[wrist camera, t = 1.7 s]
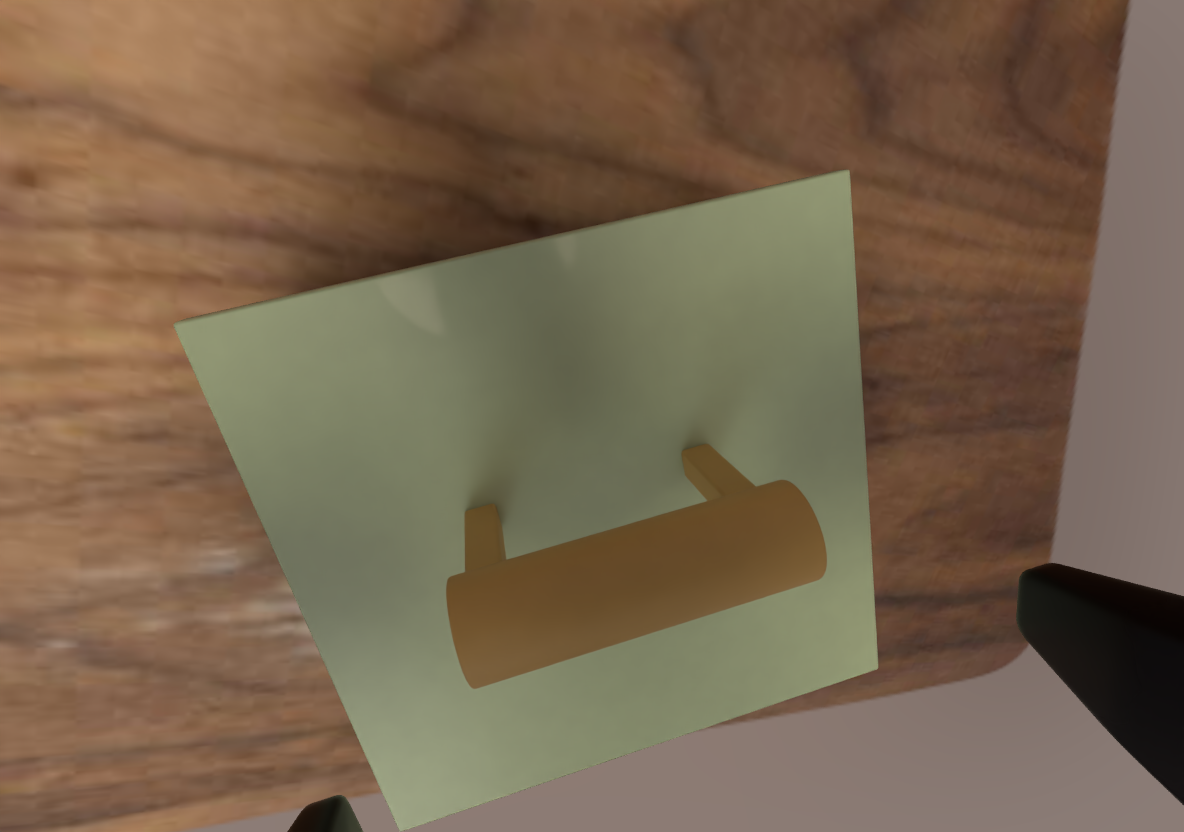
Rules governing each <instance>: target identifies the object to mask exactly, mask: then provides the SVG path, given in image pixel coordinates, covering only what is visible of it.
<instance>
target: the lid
mask: <svg viewBox="0 0 1184 832" xmlns="http://www.w3.org/2000/svg"><path fill="white" fill-rule="evenodd" d="M174 328H175V330H176V332H177V335H178V337H179V339H180V341H181V343H182V346H183V348H184V350H185V352H186V355H187V357H188V359H189V361H190V364H191V366H192V368H193V370H194V373H195V375H196V377H197V379H198V382H199V384H200V386H201V388H202V390H203V393H204V395H205V397H206V399H207V402H208V404H209V406H210V408H211V411H212V413H213V415H214V417H215V420H216V422H217V424H218V426H219V429H220V431H221V433H222V435H223V437H224V440H225V442H226V444H227V446H228V449H229V451H230V453H231V455H232V458H233V460H234V462H235V464H236V467H237V469H238V471H239V473H240V475H241V478H242V480H243V482H244V484H245V487H246V489H247V491H248V493H249V496H250V498H251V500H252V502H253V505H254V507H255V509H256V511H257V514H258V516H259V518H260V520H261V522H262V525H263V527H264V529H265V531H266V534H267V536H268V538H269V540H270V543H271V545H272V547H273V549H274V552H275V554H276V556H277V558H278V561H279V563H280V565H281V567H282V569H283V572H284V574H285V576H286V578H287V581H288V583H289V585H290V587H291V590H292V592H293V594H294V596H295V599H296V601H297V603H298V605H299V608H300V610H301V612H302V614H303V616H304V619H305V621H306V623H307V625H308V628H309V630H310V632H311V634H312V637H313V639H314V641H315V643H316V646H317V648H318V650H319V652H320V655H321V657H322V659H323V661H324V663H325V666H326V668H327V670H328V672H329V675H330V677H331V679H332V681H333V684H334V686H335V688H336V690H337V693H338V695H339V697H340V699H341V702H342V704H343V706H344V708H345V710H346V713H347V715H348V717H349V719H350V722H351V724H352V726H353V728H354V731H355V733H356V735H357V737H358V740H359V742H360V744H361V746H362V749H363V751H364V753H365V755H366V757H367V760H368V762H369V764H370V766H371V769H372V771H373V773H374V775H375V778H376V780H377V782H378V784H379V787H380V789H381V791H382V793H383V796H384V798H385V800H386V802H387V804H388V807H389V809H390V811H391V813H392V816H393V818H394V820H395V822H396V825H397V827H398V829H399V831H400V832H402V831H405V830H408V829H411V828H414V827H416V826H419V825H422V824H425V823H428V822H431V821H434V820H437V819H440V818H443V817H446V816H449V815H452V814H455V813H457V812H461V811H463V810H466V809H469V808H472V807H475V806H478V805H481V804H484V803H487V802H490V801H493V800H496V799H499V798H502V797H504V796H507V795H510V794H513V793H516V792H519V791H522V790H525V789H528V788H531V787H533V786H537V785H540V784H542V783H545V782H548V781H551V780H554V779H557V778H560V777H563V776H566V775H569V774H572V773H575V772H578V771H580V770H583V769H586V768H589V767H592V766H595V765H598V764H601V763H604V762H607V761H610V760H612V759H616V758H618V757H621V756H624V755H627V754H630V753H633V752H636V751H639V750H642V749H645V748H648V747H650V746H654V745H656V744H659V743H662V742H665V741H668V740H671V739H674V738H677V737H680V736H683V735H686V734H689V733H692V732H695V731H697V730H700V729H703V728H706V727H709V726H712V725H715V724H718V723H721V722H724V721H727V720H730V719H733V718H735V717H738V716H741V715H744V714H747V713H750V712H753V711H756V710H759V709H762V708H765V707H768V706H771V705H773V704H776V703H779V702H782V701H785V700H788V699H791V698H794V697H797V696H800V695H803V694H806V693H809V692H811V691H814V690H817V689H820V688H823V687H826V686H829V685H832V684H835V683H838V682H841V681H844V680H847V679H849V678H852V677H855V676H858V675H861V674H864V673H867V672H870V671H873V670H876V669H878V653H877V635H876V618H875V601H874V583H873V566H872V549H871V531H870V514H869V497H868V479H867V462H866V445H865V427H864V410H863V393H862V375H861V358H860V341H859V323H858V306H857V289H856V272H855V254H854V237H853V220H852V202H851V185H850V172H849V170H839V171H832V172H828V173H823V174H819V175H815V176H810V177H806V178H801V179H797V180H793V181H788V182H784V183H780V184H775V185H771V186H766V187H762V188H758V189H753V190H749V191H744V192H740V193H736V194H731V195H727V196H722V197H718V198H714V199H709V200H705V201H700V202H696V203H692V204H687V205H683V206H678V207H674V208H670V209H665V210H661V211H656V212H652V213H648V214H643V215H639V216H634V217H630V218H626V219H621V220H617V221H612V222H608V223H604V224H599V225H595V226H591V227H586V228H582V229H577V230H573V231H569V232H564V233H560V234H555V235H551V236H547V237H542V238H538V239H533V240H529V241H525V242H520V243H516V244H511V245H507V246H503V247H498V248H494V249H489V250H485V251H481V252H476V253H472V254H467V255H463V256H459V257H454V258H450V259H445V260H441V261H437V262H432V263H428V264H423V265H419V266H415V267H410V268H406V269H401V270H397V271H393V272H388V273H384V274H380V275H375V276H371V277H366V278H362V279H358V280H353V281H349V282H344V283H340V284H336V285H331V286H327V287H322V288H318V289H314V290H309V291H305V292H300V293H296V294H292V295H287V296H283V297H278V298H274V299H270V300H265V301H261V302H256V303H252V304H248V305H243V306H239V307H234V308H230V309H226V310H221V311H217V312H212V313H208V314H204V315H199V316H195V317H191V318H186V319H184V320H181V321H178V322H176V323H174Z"/></svg>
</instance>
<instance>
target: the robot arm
mask: <svg viewBox="0 0 1184 832" xmlns="http://www.w3.org/2000/svg"><path fill="white" fill-rule="evenodd" d="M1016 620H1017V624H1018V627H1019V629H1020V631H1021V633H1022V635H1023V636H1024V638H1025V639H1026V640H1027V641H1028V642H1029V643H1030V645H1031V646H1032V647H1033V648H1034V649H1035V650H1036V651H1037V652H1038V653H1039V655H1040V656H1041V657H1042V658H1043V659H1044V660H1045V661H1046V662H1047V664H1048V665H1049V666H1050V667H1051V668H1052V669H1053V670H1054V671H1055V673H1056V674H1057V675H1058V676H1059V677H1060V678H1061V679H1062V680H1063V682H1064V683H1065V684H1066V685H1067V686H1068V687H1069V688H1070V689H1071V691H1072V692H1073V693H1074V694H1075V695H1076V696H1077V697H1078V698H1079V699H1080V701H1081V702H1082V703H1083V704H1084V705H1085V706H1086V707H1087V708H1088V710H1089V711H1090V712H1091V713H1092V714H1093V715H1094V716H1095V717H1096V719H1097V720H1098V721H1099V722H1100V723H1101V724H1102V725H1103V726H1104V727H1105V728H1106V729H1107V731H1108V732H1109V733H1110V734H1111V735H1112V736H1113V737H1114V738H1115V739H1116V740H1117V741H1118V742H1119V743H1120V744H1121V745H1122V746H1123V747H1124V748H1125V749H1126V750H1127V751H1128V752H1129V753H1130V754H1131V755H1132V756H1133V757H1134V758H1135V759H1136V760H1137V761H1138V762H1139V763H1140V764H1141V765H1142V766H1143V767H1144V768H1145V769H1146V770H1147V771H1148V772H1149V773H1150V774H1151V775H1152V776H1154V777H1155V778H1156V779H1157V780H1158V781H1159V782H1160V783H1161V784H1162V785H1163V786H1164V787H1165V788H1166V789H1167V790H1168V791H1169V792H1170V793H1171V794H1172V795H1173V796H1174V797H1175V798H1177V799H1178V800H1179V801H1180V802H1181V803H1182V804H1183V805H1184V596H1181V595H1177V594H1173V593H1169V592H1165V591H1161V590H1158V589H1153V588H1150V587H1146V586H1142V585H1138V584H1134V583H1130V582H1127V581H1123V580H1119V579H1115V578H1111V577H1107V576H1103V575H1100V574H1096V573H1092V572H1088V571H1084V570H1080V569H1076V568H1073V567H1069V566H1065V565H1061V564H1056V563H1048V564H1044V565H1041V566H1038V567H1035V568H1032V569H1028V570H1026V571H1024V572H1023V573H1022V574H1021V576H1020V578H1019V586H1018V600H1017V614H1016ZM288 832H363V830H362V828H361V826H360V824H359V822H358V820H357V818H356V816H355V814H354V812H353V810H352V808H351V806H350V804H349V802H348V800H347V799H346V798H345V797H344V796H342V795H336V796H333V797H330V798H327V799H324V800H321V801H317V802H314V803H312V804H309V805H308V806H306V807H305V808H304V809H303V810H302V811H301V813H300V814H299V815H298V817H297V819H296V820H295V821H294V823H293V824H292V826H291V827H290V829H289V830H288Z"/></svg>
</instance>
